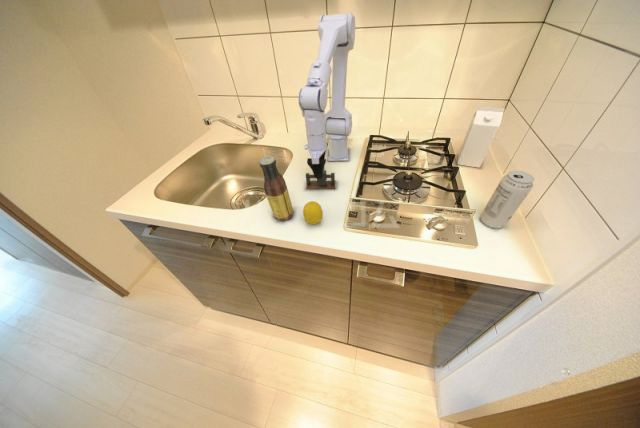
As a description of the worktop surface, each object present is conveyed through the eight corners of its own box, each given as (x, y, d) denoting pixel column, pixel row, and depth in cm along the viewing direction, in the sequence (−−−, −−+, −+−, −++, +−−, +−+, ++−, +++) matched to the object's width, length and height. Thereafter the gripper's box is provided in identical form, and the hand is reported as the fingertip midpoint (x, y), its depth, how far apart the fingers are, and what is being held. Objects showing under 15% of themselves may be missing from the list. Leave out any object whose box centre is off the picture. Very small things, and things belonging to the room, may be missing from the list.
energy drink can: (507, 231, 59) (542, 185, 49) (481, 228, 61) (509, 182, 50) (501, 215, 63) (531, 170, 53) (477, 213, 65) (502, 168, 54)
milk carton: (458, 155, 87) (478, 102, 74) (479, 158, 84) (504, 104, 71) (457, 164, 83) (478, 110, 69) (479, 168, 80) (506, 113, 67)
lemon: (321, 230, 65) (319, 210, 59) (302, 228, 66) (298, 208, 60) (325, 217, 68) (323, 196, 63) (307, 215, 70) (304, 195, 64)
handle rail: (307, 182, 82) (306, 170, 78) (335, 182, 81) (335, 170, 77) (306, 189, 79) (304, 177, 76) (335, 189, 78) (334, 177, 74)
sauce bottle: (285, 205, 74) (271, 149, 60) (297, 214, 70) (286, 157, 56) (269, 216, 71) (250, 160, 57) (281, 226, 67) (264, 168, 53)
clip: (318, 179, 80) (316, 162, 76) (326, 179, 80) (325, 162, 75) (317, 185, 78) (315, 168, 73) (326, 185, 77) (324, 168, 73)
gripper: (305, 122, 72) (310, 160, 81) (298, 144, 62) (305, 184, 71) (328, 121, 71) (330, 159, 80) (324, 143, 61) (327, 184, 70)
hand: (319, 171), depth 76 cm, fingers open, 7 cm apart
